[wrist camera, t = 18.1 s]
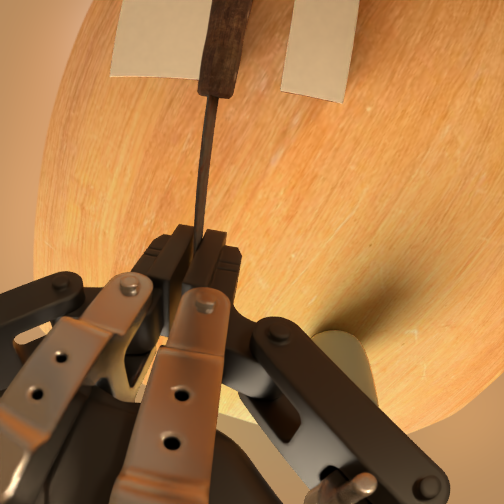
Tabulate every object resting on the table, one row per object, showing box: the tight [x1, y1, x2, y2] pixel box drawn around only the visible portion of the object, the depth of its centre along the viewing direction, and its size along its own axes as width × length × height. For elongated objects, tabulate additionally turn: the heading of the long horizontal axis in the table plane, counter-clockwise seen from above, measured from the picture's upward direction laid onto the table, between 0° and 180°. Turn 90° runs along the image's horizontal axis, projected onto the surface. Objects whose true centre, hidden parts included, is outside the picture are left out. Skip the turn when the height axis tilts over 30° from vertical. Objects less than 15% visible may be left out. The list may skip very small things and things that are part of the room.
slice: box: [280, 0, 360, 103], centre depth 17 cm, size 4×8×4 cm, turn 172°
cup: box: [311, 330, 379, 407], centre depth 29 cm, size 8×8×10 cm
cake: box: [110, 0, 212, 80], centre depth 17 cm, size 8×8×4 cm
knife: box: [193, 0, 253, 258], centre depth 8 cm, size 16×1×2 cm, turn 171°
